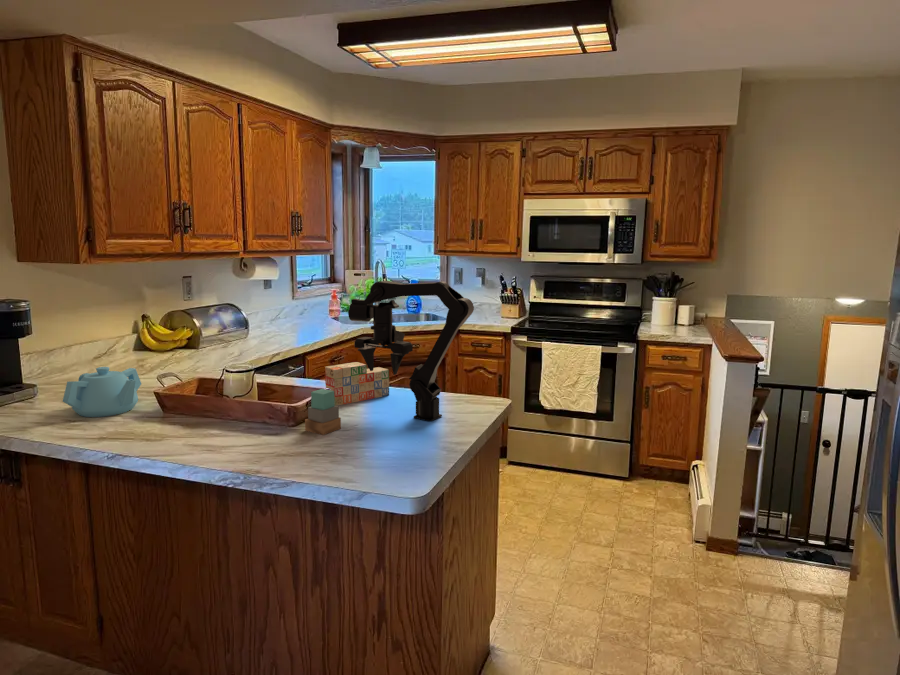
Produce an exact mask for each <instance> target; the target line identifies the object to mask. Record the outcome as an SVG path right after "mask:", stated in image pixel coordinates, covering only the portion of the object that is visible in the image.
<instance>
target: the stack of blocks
mask: <svg viewBox="0 0 900 675" xmlns="http://www.w3.org/2000/svg"><path fill="white" fill-rule="evenodd" d="M324 370H325V375H324V377H325V378H324V380H325V381H324V382H325V389H326V388H330V389H331V390H332V391H334V405H336V406H340V405H346V404H351V403H358V402H361V401H367V400H373V399H379V398H382V397H387V396H390V371H389V369H388V368H383V367H380V366H378V367H374V368H373V371H370V369H369V368H368V365H367V363H366V364H365V363H362V362H358V361H355V362H346V363H342V364H334V365H328V366H325V367H324Z"/></svg>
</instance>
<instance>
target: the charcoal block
mask: <svg viewBox="0 0 900 675" xmlns="http://www.w3.org/2000/svg"><path fill="white" fill-rule="evenodd" d="M339 406H340V405H335V406H334V407H331V408H328V409H325V410H321V409H316V408H311V406H308V407H307V417H308V418H307V419H309V420H313V421H317V422H320V423H325V422H328V421H331V420H334V419H338V418H339V417H340V416H339V415H340V413H339V412H340V411H339Z"/></svg>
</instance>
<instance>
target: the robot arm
mask: <svg viewBox="0 0 900 675" xmlns="http://www.w3.org/2000/svg"><path fill="white" fill-rule="evenodd" d="M417 296H418V297H419V296H423V297H424V296H437V297H438V299H439V300H440V301H441V303H442V304H443V306H445V307H446V308H447V309H448V311H447V313H446V318H445V324H444V326H443V328H442V330H441V332H440V334H439V336H438V337H437V339H436V341H435V343H434V345H433V347H432V349H431V351H430V353H429V354H428V357H427V358H426V360H425V362H424V363H423V364H422V363H421V364H419V365H417V366H416V367H414V369H413V372H412V375H411V376H410V377H409V378H408V379H409V380H410V381H409V384H408V386H409V388H410V390H411V392H412V393H413V395H414V397H415V415H414V416H413V419H418V420H423V421H426V422H427V421H428V422H433V421H435V420H437V419H439V418H442V417H443V415H442V413H441V414H440V398H439V396H440V394H441V391H442V388H441V387H440V386H439V385H438V384H437V383H436V382H435V381H436V378H437V373H438V369H439V366H440V364H441V363H442V360H443V359H444V358H445V355H446V353H447V351H448V349H449V348H450V346H451V344H452V342H453V340H454V339H455V337H456V335H457V333H458V331H459V329H460V328H461V327H462V326H463V325H464V324H465V323H466V322H467V320H468V319H469V318H470V317H471V315H472V314H473V312H474V310H475V305H474V303H473V301H472V300H471V299H470V298H467V297H464V296H463V295H462V294H461V293H460V292H458V291H457V290H455V289H454V288H453V287H452V286H450V284H448V282H446V281H444V280H443V281H437V282H418V283H417V282H415V283H401V282H398V281H397V282H396V281H391V280H390V281H389V280H382V281H377V282H373V284H372V285H371V287H370V292H369V293H368V295H367V296H366V298H365V299H360V298H352V299H351V302H350V305H349V306H348V310H347V311H348V312H347V314H348V319H349V320H350V321H351V322H368V323H369V322H370V321H371V320H373V321H372V322H373V325H371V326H370V330H373V337H370V336H363V337H358V338H357V337H356V339H355V340H354V343H353V344H354V345H353V346H354V348H355V349H357V351H358V352H359V353H360V354H361V356H362V358H363V360H364V361H365V363H366V366H367V368H368V369H370V371H373V368H375V365H374V364H375V361H374V360H375V351H376V349H377V348H380V349H387V350H390V351H391V352H392V353H390V362H391V369H392V374H393V375H394V376H395V375H397V374H398V370H399V368H400V366H401V362H402V361H403V358H404V357H405V356H406V355H408V354H409V353H411V352H413V351H414V350H413V349H414V348H413V344H412V342H411V341H404V340H405V336H406V335H405V333H404V332H401V331H399V330H396V325H394V324H393V309H394V310H395V309H398V308H400V305H399V304H398V303H397V302H395V300H394V299H395V298H400V297H417ZM390 299H392V300H390ZM385 300H390V301H388V302H387V301H385ZM384 301H385V302H384ZM376 303H378V304H376Z"/></svg>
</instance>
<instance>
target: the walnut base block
mask: <svg viewBox="0 0 900 675" xmlns="http://www.w3.org/2000/svg"><path fill="white" fill-rule="evenodd" d="M341 419H342V418H341V417H340V416H339V418H338V419H334V420H331V421H328V422H325V423H320V422H317V421H313V420H309V419H308V418H306V419H304V429H305V430H306V431H305V432H309V431H310V432H309V433H314V434H318V435H322V436H325V435H328V434H330V433H332V432H335V431H338V430H340V429H342V425H341V424H342V420H341Z"/></svg>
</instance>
